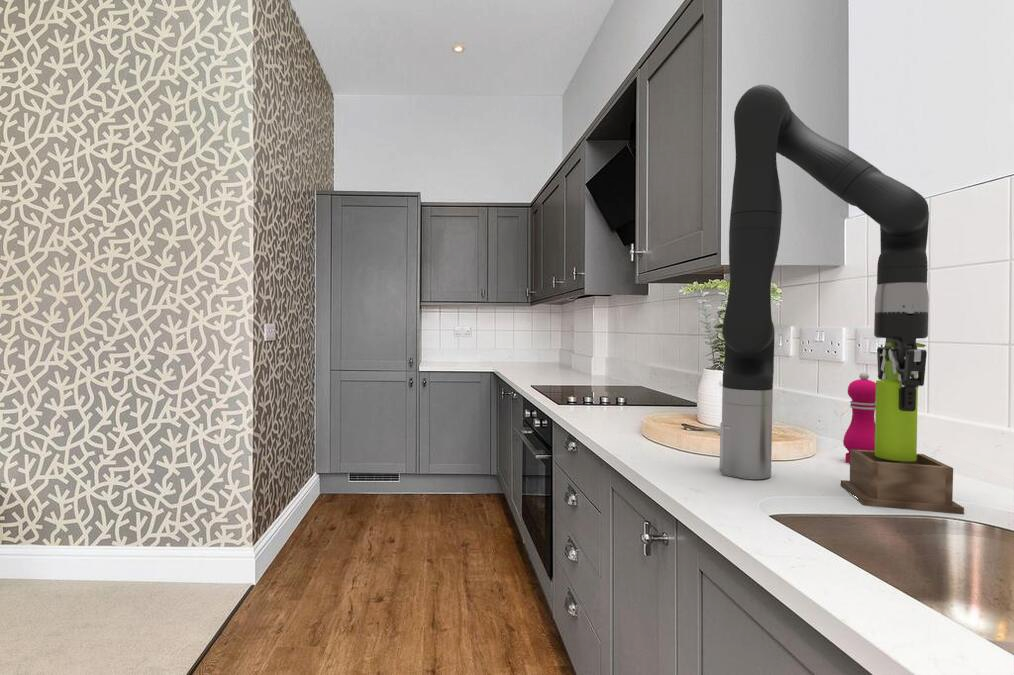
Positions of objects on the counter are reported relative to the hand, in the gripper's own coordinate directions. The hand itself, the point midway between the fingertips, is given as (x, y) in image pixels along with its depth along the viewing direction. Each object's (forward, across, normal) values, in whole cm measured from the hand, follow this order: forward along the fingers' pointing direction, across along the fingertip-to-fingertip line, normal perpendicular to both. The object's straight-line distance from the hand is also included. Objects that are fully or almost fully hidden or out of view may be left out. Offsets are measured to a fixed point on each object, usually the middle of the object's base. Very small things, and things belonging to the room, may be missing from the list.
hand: (898, 407), depth 94 cm
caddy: (+16, 0, 0) cm, 16 cm away
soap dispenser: (+9, 0, 0) cm, 9 cm away
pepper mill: (+16, -27, +3) cm, 31 cm away
